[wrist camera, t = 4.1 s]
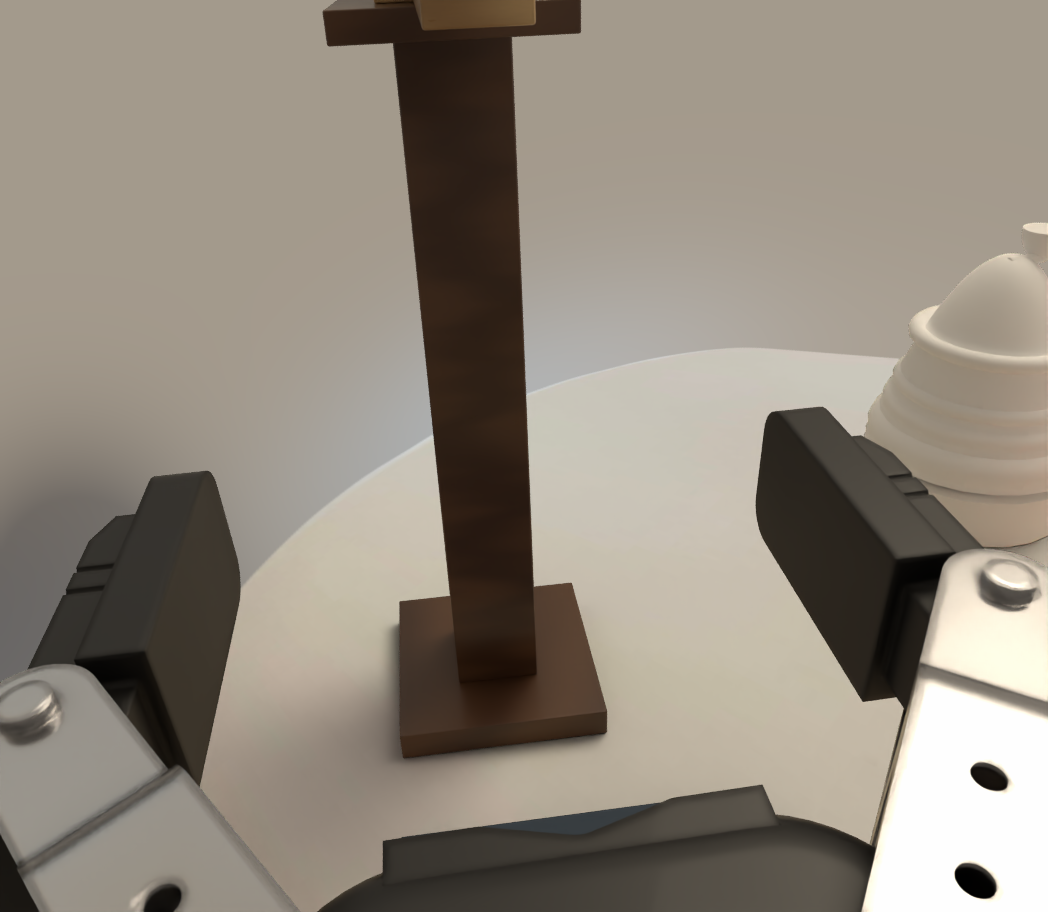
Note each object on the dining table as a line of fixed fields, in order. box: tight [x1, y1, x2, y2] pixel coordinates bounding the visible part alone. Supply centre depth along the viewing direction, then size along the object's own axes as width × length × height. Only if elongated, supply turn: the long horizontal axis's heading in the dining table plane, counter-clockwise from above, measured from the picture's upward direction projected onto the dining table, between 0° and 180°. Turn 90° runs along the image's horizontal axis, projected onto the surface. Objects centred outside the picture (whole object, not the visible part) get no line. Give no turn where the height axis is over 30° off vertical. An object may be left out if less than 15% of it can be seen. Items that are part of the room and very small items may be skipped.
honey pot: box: [864, 223, 1048, 547], centre depth 55 cm, size 13×13×18 cm
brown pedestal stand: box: [323, 0, 607, 758], centre depth 38 cm, size 10×10×32 cm
